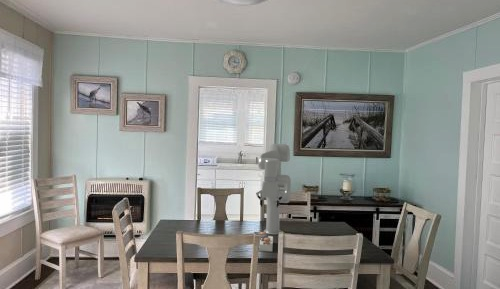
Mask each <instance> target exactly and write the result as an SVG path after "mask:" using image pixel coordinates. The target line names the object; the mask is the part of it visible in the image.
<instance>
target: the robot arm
mask: <svg viewBox="0 0 500 289" xmlns="http://www.w3.org/2000/svg"><path fill="white" fill-rule="evenodd" d="M290 159H291V149H290V146H289V145H288V144H287V143H273V144H272V143H271V144H270V145H269V147H268V150H266V152H264V153H262V154H261V155H260V156H259V158H258V162H257V164H258V168H259V169H260V170H263V171H264V174H263V175H264V179H263V182H262V185H261V186H262V187H261V190H259V191H257V192H255V195H256V197H257V198H258V200H259V201H260V202H259V205H260V207H261V208H262V207H263V201H264V200H263V199H264V198H266V216H265V217H266V219H265V220H266V224H265V226H266V227H265V229H263V232H266V235H273V236H274V235H279V234H278V232H279V231H281V232H282V230H281V229H280V222H281V221H280V215H281V208H280V204H281V203H282V204H288V203H290V201H291V191H292V190H291V188H292V187H291V186H292V184H291V179H292V178H291V177H290V175H289V174H281V173H282V163H286V162H287V163H288V162H289V161H290ZM279 188H280V189H279ZM281 188H283V189H281ZM260 194H261V196H260Z"/></svg>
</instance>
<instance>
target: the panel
mask: <svg viewBox="0 0 500 289" xmlns="http://www.w3.org/2000/svg"><path fill="white" fill-rule="evenodd" d="M268 238H270V244H269V245H266V244H264V241H262V238H261V240H260V248H259V251H258V252H269V253H270V252H272V253H273V248H274V247H273V243H274V235H273V236H271V235H268Z"/></svg>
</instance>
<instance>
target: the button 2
mask: <svg viewBox="0 0 500 289" xmlns="http://www.w3.org/2000/svg"><path fill="white" fill-rule="evenodd" d="M264 244H266V245H269V244H270V238H264Z"/></svg>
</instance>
